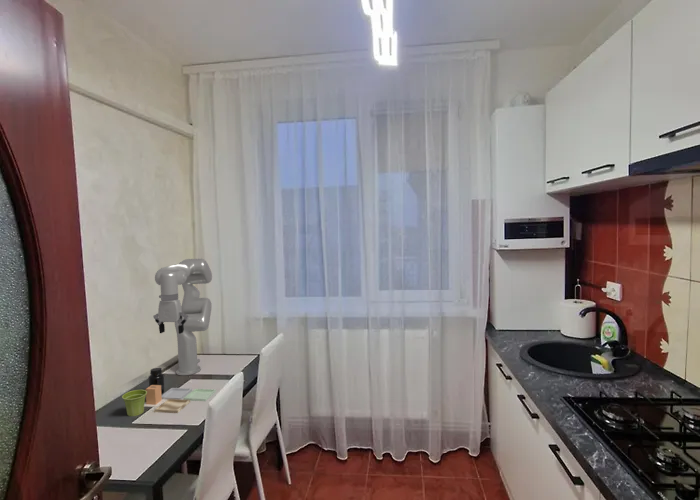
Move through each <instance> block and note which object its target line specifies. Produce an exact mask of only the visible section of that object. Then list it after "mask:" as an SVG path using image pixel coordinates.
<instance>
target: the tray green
mask: <svg viewBox="0 0 700 500" xmlns="http://www.w3.org/2000/svg"><path fill="white" fill-rule="evenodd" d="M216 392H217V389H215V388H213V389H212V388H194V389H192V391H191V392H190V393H189V394H188V395H186V396H185V397H184V398H183V399H182V400H190V402H192V401H193V402H206V401H207V400H209V399H210V398H211V397H212V396H213V395H214V394H215V393H216Z"/></svg>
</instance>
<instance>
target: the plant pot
mask: <svg viewBox="0 0 700 500" xmlns="http://www.w3.org/2000/svg"><path fill="white" fill-rule="evenodd" d="M146 394H147V391H146V389H134V390H131V391H128V392H125V393H124V394H122V396H121V398H122V400H123V402H124V405H125V410H126V414H127V416H129V417H136V416H139V415H142V414H143V413H144V412H145V406H144V403H145V402H146Z"/></svg>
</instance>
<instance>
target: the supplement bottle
mask: <svg viewBox="0 0 700 500" xmlns="http://www.w3.org/2000/svg"><path fill="white" fill-rule="evenodd" d="M149 372H150V375H148V379H147V380H148V381H147V382H148V384H147V385H148V387H149V386H151V385H161V395H163V394H164V393H165V392H166V391H165V375H164V374H163V372H162V367H154V368H151V369H150V371H149Z"/></svg>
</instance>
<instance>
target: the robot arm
mask: <svg viewBox="0 0 700 500" xmlns="http://www.w3.org/2000/svg"><path fill="white" fill-rule="evenodd" d="M212 279H213V273H212V270H211V269H210V266H209V263H208V262H207V260H205V258H186V259H183V260H182V261H180V262H178V263H177V264H171V265H168V266H164V267H161V268H159V269H158V270H157V271H156V272H155V274H154V281H155V283H156V284H157V285H158V286H160V295H159V296H158V299H161V300H159V304H158V308H157V309H158V312H157V313H156V314H154V315H153V319H154V321H155V322H156V324H157V325H158V330H159V334H163V333H165V331H166V329H165V328H166V327H165V323H174V327H175V328H174V329H175V331H176V332H175V333H176V338H177V340H176V341H177V357H178V358H177V359H178V361H177V362H178V368H177V369H176V370H175V373H176V375H178V376H191V375H195V374H197V373H199V372H200V371H201V370H202V368H201V366H199V365H198V364H199V363H200V362H201V359H200V358H198V351H197V350H198V349H197V338H196V335H195V334H194V333H193V332H204V331H207V330H208V328H209V325H210V320H211V315H212V314H211V313H212V301H211V299H210V298H208V297H201V296H200V295H201V292H200V290H199V289H198V288H197V287H196V286H195V285H200V284H201V285H203V284H205V285H206V284H209V283H211V281H212ZM180 285H181V286H182V289H183V298H182V302H181V300H180V299H179V288H178V287H179V286H180Z"/></svg>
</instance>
